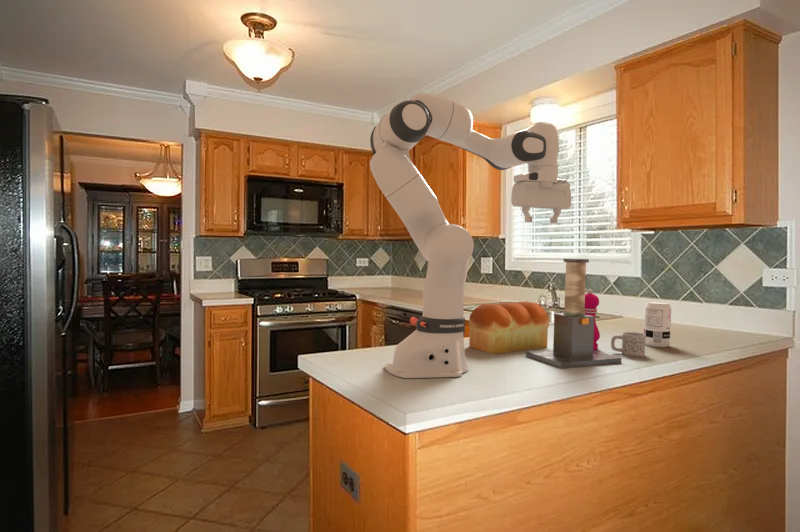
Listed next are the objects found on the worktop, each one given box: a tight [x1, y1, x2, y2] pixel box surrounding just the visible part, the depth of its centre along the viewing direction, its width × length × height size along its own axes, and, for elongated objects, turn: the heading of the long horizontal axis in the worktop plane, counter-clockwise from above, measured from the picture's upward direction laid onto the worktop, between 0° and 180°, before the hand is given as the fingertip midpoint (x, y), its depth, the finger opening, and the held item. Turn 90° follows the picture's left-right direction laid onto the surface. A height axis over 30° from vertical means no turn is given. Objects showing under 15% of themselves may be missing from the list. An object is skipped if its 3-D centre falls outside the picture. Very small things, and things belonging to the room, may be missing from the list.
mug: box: [610, 331, 646, 358], centre depth 158 cm, size 10×7×7 cm
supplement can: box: [643, 301, 672, 348], centre depth 173 cm, size 8×8×15 cm
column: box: [563, 258, 590, 316], centre depth 148 cm, size 5×5×21 cm
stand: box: [525, 312, 622, 369], centre depth 148 cm, size 22×16×14 cm
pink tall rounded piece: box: [584, 288, 601, 351], centre depth 165 cm, size 7×7×20 cm
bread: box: [468, 301, 550, 355], centre depth 165 cm, size 25×12×15 cm, turn 122°
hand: (541, 222), depth 151 cm, fingers open, 8 cm apart
